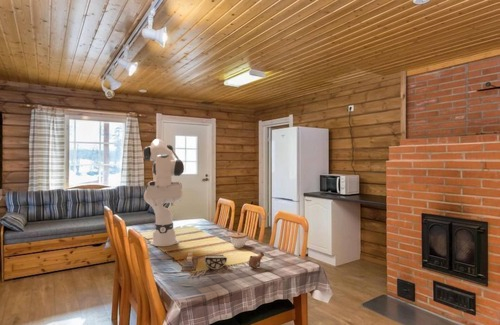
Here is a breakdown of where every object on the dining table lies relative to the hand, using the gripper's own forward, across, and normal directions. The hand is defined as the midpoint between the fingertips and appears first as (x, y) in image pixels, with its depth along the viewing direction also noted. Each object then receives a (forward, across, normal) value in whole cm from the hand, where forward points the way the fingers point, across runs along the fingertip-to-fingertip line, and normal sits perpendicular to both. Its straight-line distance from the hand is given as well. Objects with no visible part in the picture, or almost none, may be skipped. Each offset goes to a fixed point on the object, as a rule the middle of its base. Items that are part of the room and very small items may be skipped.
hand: (164, 205), depth 181 cm
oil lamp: (+31, -51, +23) cm, 64 cm away
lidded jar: (+31, -45, -18) cm, 58 cm away
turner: (+30, -15, +12) cm, 36 cm away
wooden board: (+31, -15, +12) cm, 36 cm away
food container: (+29, -28, +13) cm, 43 cm away
